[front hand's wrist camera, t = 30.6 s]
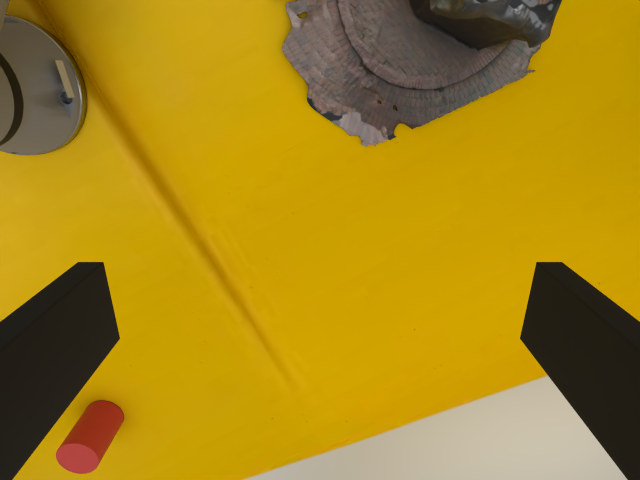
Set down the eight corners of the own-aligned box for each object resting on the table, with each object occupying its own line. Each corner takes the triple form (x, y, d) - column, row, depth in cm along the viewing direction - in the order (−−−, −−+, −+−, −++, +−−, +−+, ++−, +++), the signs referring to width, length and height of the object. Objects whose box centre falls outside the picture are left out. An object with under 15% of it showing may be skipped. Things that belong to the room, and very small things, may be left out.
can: (83, 422, 68) (53, 467, 60) (89, 396, 66) (59, 438, 58) (120, 432, 69) (94, 478, 61) (127, 406, 67) (101, 450, 59)
